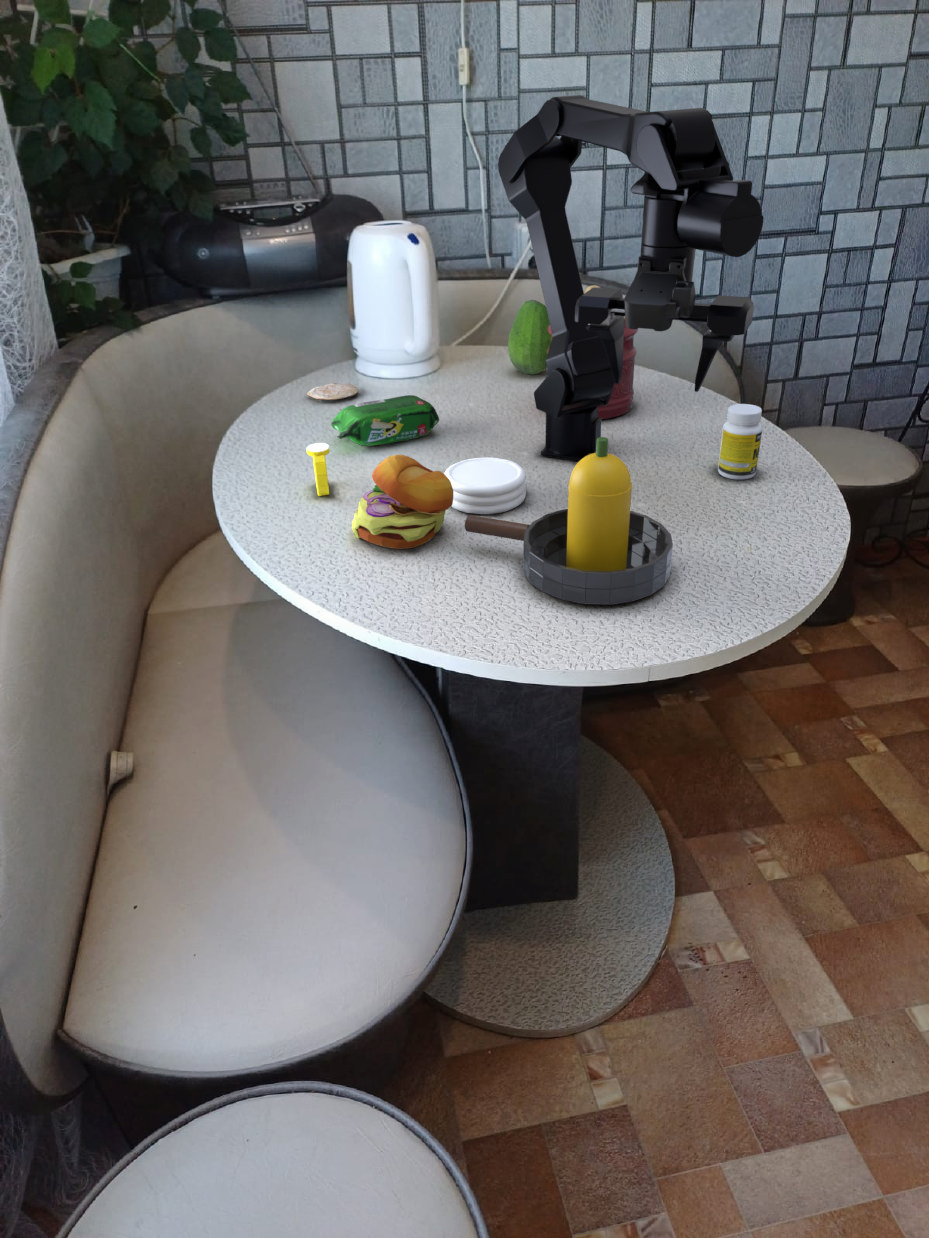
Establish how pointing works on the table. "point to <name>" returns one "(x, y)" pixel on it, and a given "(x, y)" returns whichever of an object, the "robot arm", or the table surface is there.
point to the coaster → (486, 485)
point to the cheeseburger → (403, 504)
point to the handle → (495, 527)
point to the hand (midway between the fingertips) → (656, 386)
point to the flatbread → (333, 391)
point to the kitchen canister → (624, 389)
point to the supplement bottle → (740, 442)
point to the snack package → (386, 420)
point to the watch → (320, 466)
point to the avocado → (530, 338)
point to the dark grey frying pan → (597, 587)
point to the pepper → (598, 512)
